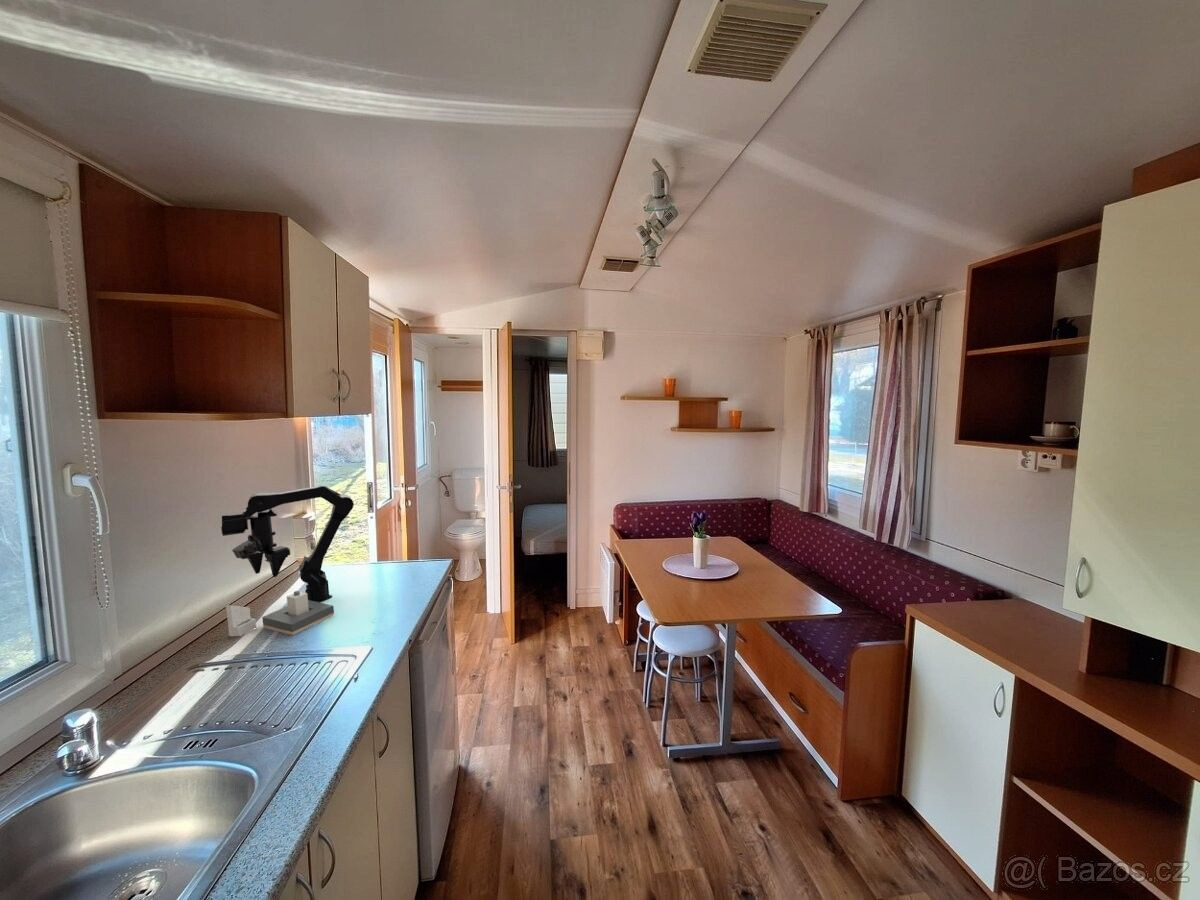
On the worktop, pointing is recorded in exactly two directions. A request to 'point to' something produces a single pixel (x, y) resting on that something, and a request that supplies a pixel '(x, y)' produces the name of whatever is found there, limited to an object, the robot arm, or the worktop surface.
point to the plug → (297, 603)
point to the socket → (297, 618)
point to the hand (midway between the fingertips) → (266, 575)
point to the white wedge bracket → (239, 620)
